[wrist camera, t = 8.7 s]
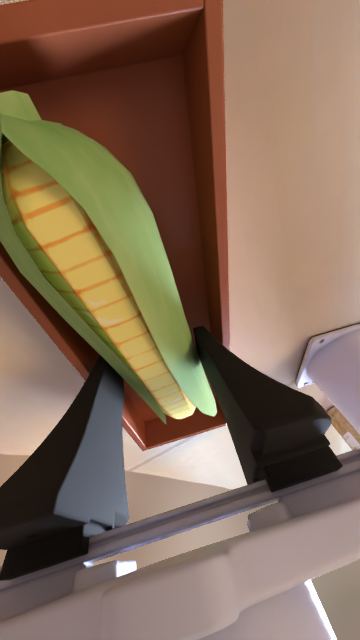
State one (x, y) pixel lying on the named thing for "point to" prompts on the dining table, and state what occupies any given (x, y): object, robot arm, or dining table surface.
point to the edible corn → (97, 256)
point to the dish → (137, 148)
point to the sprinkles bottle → (344, 428)
